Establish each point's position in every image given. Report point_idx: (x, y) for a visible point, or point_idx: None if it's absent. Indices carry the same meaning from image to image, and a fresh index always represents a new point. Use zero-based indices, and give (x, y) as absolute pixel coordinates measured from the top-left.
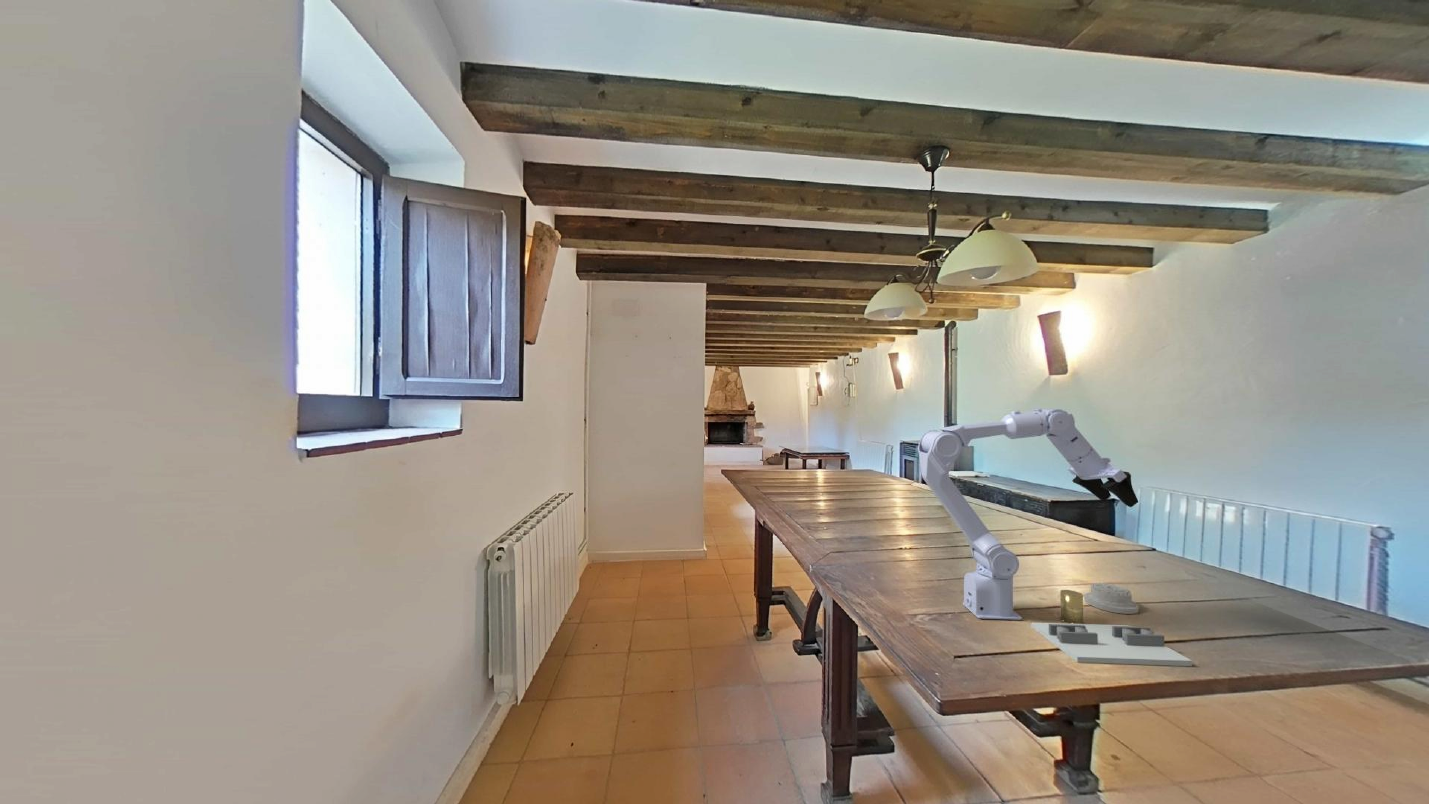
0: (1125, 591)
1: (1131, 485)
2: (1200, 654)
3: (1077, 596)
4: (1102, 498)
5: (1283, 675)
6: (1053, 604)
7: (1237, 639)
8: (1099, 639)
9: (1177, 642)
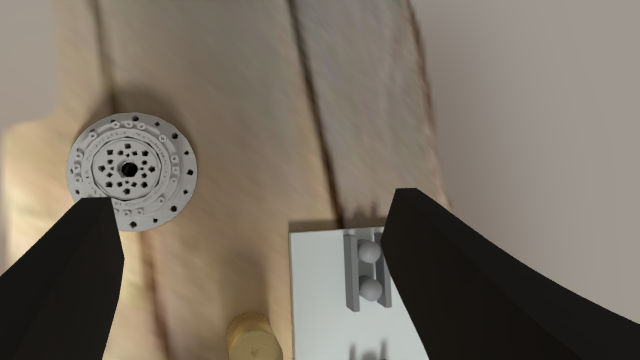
0: (154, 144)
1: (557, 288)
2: (376, 170)
3: (279, 356)
4: (120, 280)
5: (429, 96)
6: (145, 329)
7: (307, 37)
8: (364, 342)
9: (333, 173)
